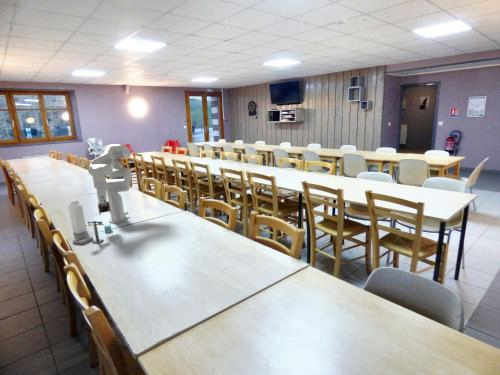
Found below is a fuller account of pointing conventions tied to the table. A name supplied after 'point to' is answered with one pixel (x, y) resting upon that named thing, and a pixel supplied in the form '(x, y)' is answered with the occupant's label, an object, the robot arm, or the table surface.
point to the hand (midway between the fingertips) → (104, 210)
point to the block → (107, 228)
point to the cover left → (101, 207)
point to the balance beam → (93, 223)
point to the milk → (77, 217)
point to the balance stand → (96, 235)
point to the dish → (83, 240)
